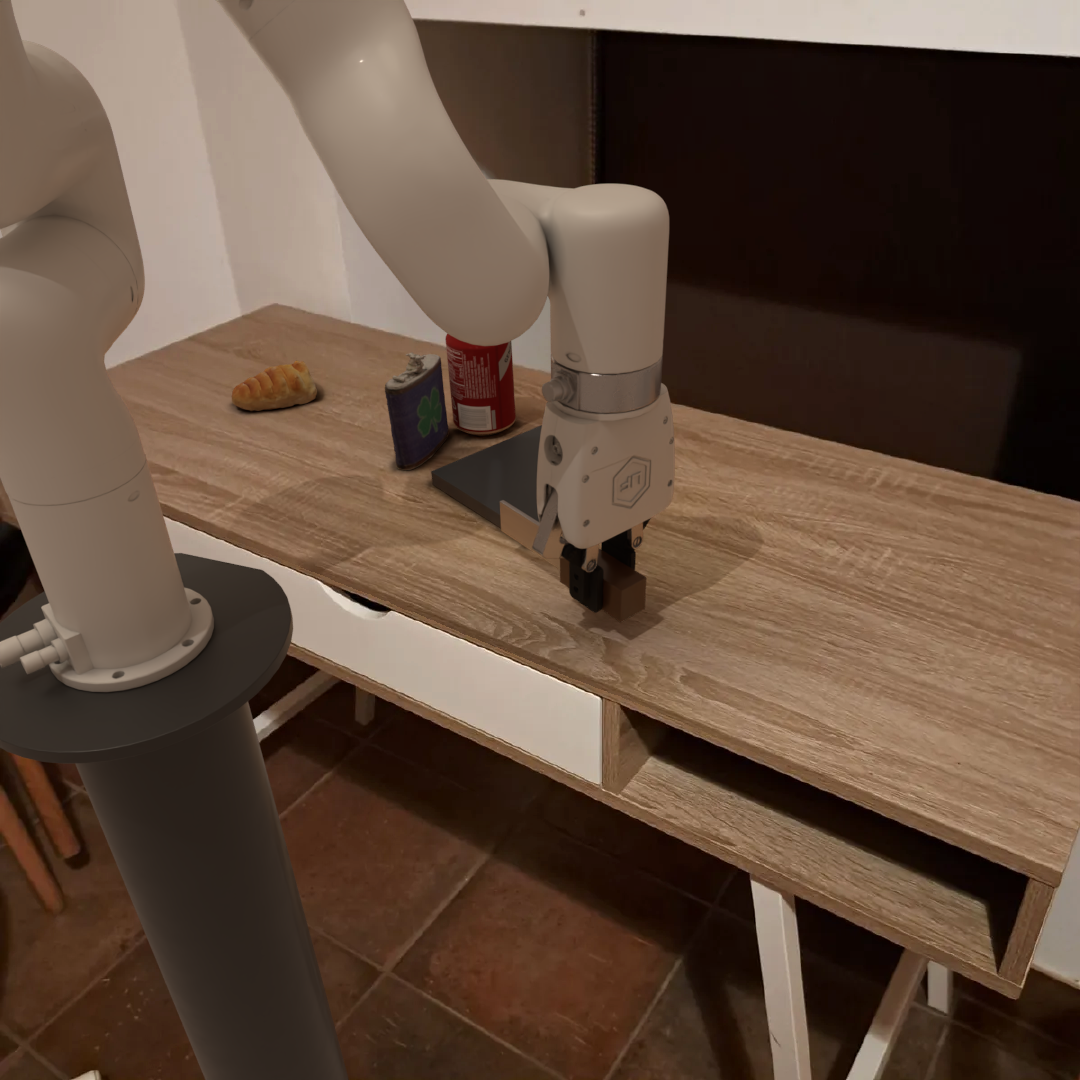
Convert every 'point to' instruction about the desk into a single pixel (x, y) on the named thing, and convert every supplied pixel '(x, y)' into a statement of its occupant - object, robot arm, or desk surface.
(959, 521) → the desk surface
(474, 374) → the soda can
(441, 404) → the flask
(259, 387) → the pastry
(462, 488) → the board
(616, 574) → the knife
